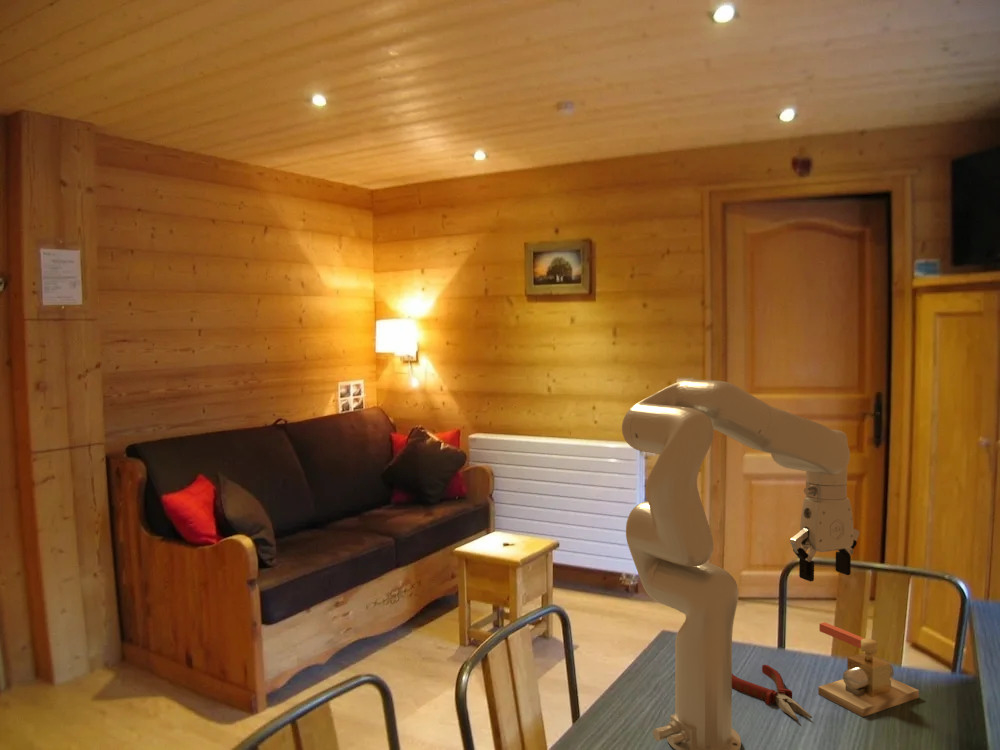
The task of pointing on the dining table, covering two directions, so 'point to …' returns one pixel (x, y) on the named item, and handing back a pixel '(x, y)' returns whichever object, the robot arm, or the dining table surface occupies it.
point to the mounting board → (868, 697)
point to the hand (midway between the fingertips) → (824, 576)
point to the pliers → (771, 692)
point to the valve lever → (849, 638)
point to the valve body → (867, 675)
